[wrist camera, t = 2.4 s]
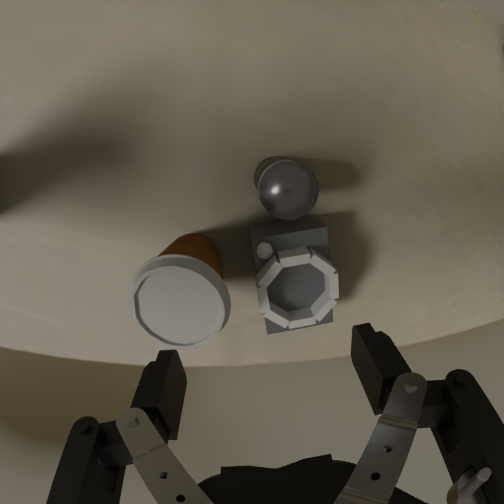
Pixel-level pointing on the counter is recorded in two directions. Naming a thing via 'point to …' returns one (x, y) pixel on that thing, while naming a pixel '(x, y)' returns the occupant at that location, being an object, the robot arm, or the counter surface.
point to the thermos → (285, 187)
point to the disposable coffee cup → (181, 294)
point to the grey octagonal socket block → (294, 273)
